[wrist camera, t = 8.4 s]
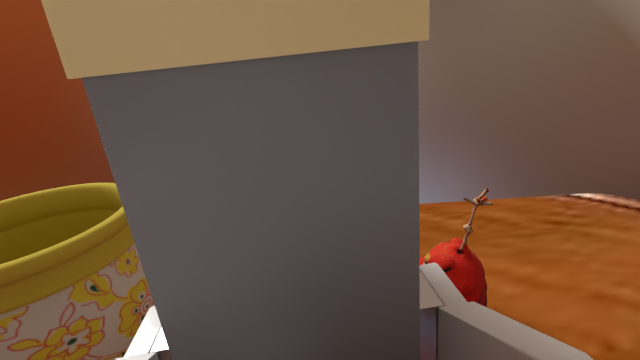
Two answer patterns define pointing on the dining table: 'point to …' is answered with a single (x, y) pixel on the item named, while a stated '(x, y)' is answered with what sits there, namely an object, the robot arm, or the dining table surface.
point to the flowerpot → (69, 275)
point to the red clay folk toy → (462, 261)
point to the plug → (263, 166)
